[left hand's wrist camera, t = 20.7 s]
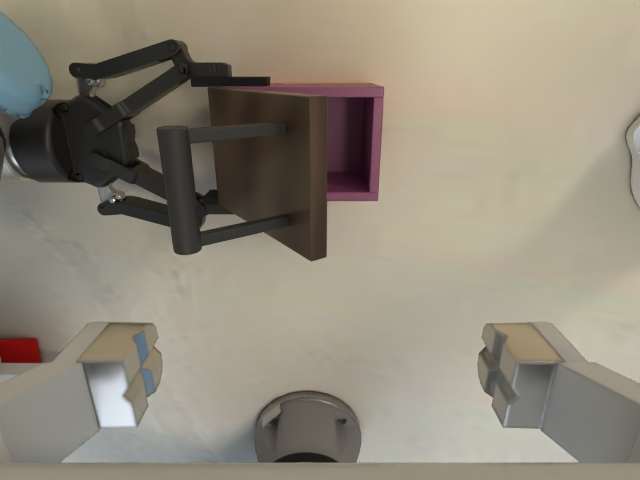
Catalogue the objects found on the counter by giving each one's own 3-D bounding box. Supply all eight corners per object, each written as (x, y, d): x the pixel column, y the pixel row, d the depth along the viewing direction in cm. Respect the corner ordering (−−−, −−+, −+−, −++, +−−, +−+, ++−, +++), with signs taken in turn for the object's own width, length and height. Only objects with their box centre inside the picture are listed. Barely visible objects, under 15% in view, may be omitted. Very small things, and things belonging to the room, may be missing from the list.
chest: (371, 83, 44) (384, 86, 35) (367, 177, 48) (378, 201, 39) (236, 83, 44) (216, 86, 35) (243, 177, 48) (226, 201, 39)
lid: (328, 95, 24) (170, 101, 19) (327, 257, 27) (194, 296, 23) (221, 86, 35) (106, 89, 30) (231, 201, 39) (130, 220, 34)
